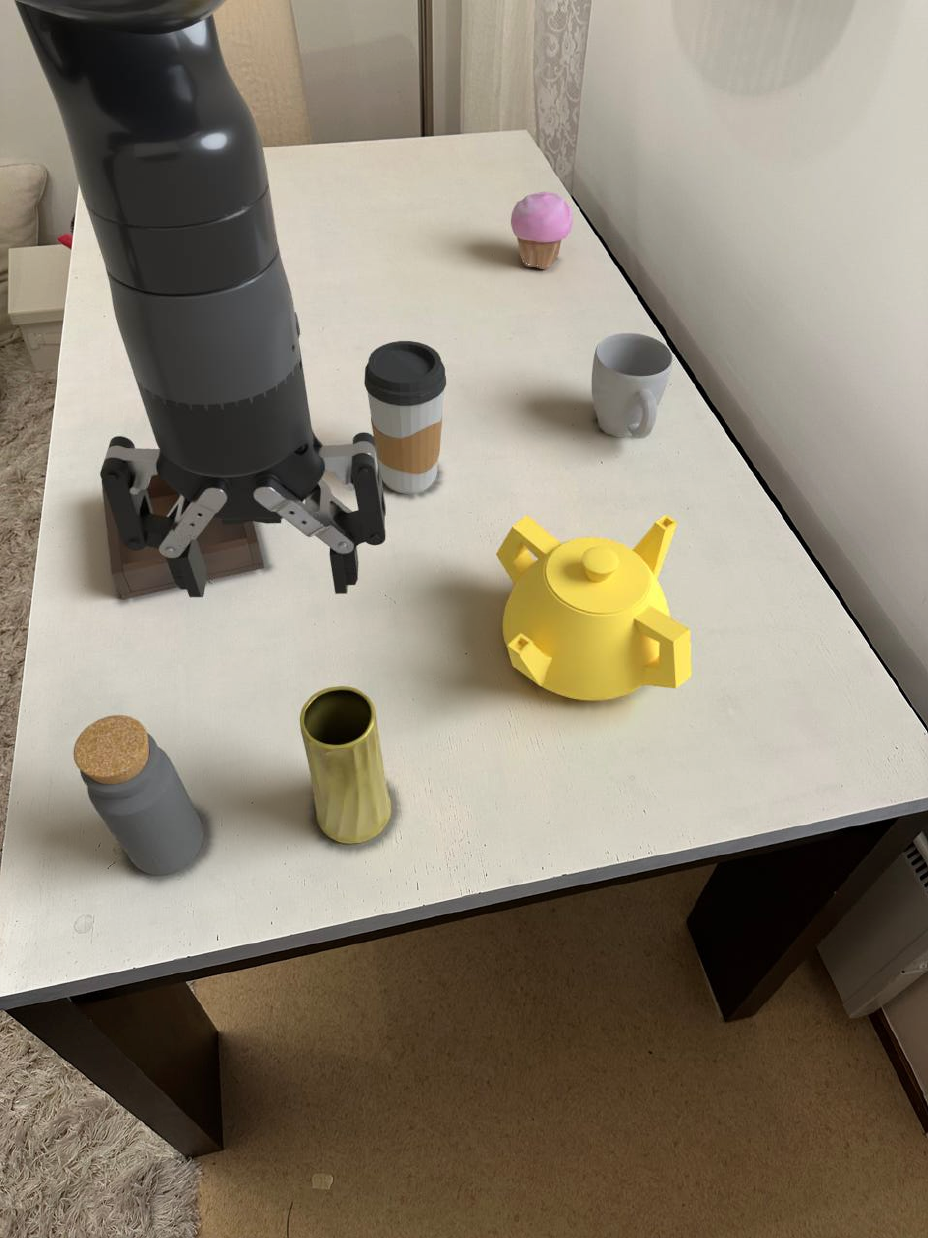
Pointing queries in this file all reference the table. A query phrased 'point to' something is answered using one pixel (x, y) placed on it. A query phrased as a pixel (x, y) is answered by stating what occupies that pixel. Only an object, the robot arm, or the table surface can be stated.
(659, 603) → the teapot
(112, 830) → the bottle
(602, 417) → the mug
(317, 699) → the vase
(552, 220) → the cupcake
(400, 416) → the coffee cup
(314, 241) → the table surface
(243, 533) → the tray
